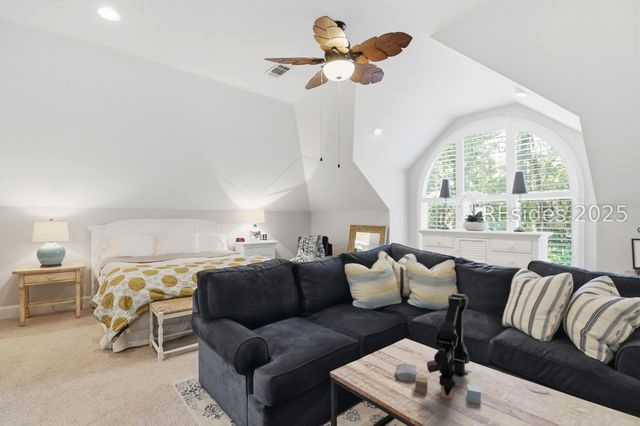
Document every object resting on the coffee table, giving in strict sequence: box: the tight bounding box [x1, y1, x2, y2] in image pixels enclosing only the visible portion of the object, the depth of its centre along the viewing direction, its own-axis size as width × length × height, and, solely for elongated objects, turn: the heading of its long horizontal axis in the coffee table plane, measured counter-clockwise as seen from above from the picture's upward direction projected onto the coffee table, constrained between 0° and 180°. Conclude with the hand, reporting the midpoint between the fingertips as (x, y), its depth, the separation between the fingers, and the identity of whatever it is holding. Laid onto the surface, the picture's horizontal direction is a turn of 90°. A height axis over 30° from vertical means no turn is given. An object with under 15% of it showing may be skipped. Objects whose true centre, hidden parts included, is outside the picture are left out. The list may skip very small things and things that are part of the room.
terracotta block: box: [440, 385, 454, 399], centre depth 146 cm, size 5×5×5 cm
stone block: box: [395, 362, 418, 382], centre depth 163 cm, size 12×5×10 cm
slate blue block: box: [466, 383, 482, 405], centre depth 142 cm, size 5×5×5 cm
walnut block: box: [414, 374, 429, 394], centre depth 150 cm, size 5×5×5 cm
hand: (446, 392), depth 146 cm, fingers closed on terracotta block, 5 cm apart
